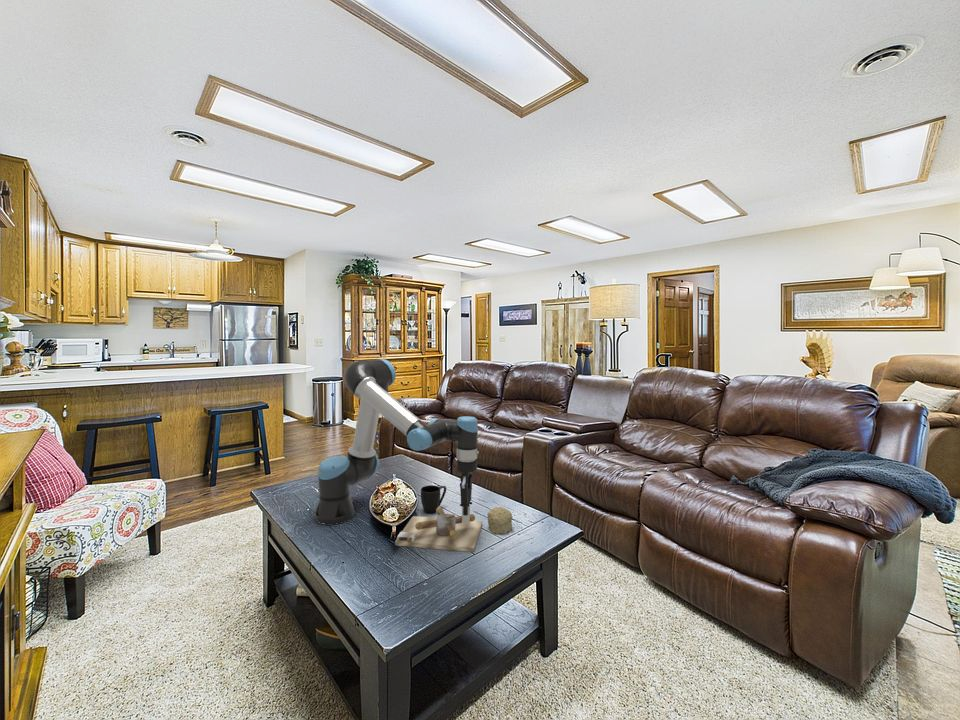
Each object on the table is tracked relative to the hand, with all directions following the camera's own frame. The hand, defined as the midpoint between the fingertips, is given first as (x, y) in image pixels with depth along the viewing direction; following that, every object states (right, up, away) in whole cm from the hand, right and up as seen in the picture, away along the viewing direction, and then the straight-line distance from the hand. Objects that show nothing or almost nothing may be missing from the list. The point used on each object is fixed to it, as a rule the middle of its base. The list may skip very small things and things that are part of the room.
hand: (465, 522), depth 152 cm
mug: (-14, -4, +22) cm, 27 cm away
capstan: (-7, -3, 0) cm, 8 cm away
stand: (-9, -5, +1) cm, 10 cm away
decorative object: (+13, -5, +6) cm, 15 cm away
